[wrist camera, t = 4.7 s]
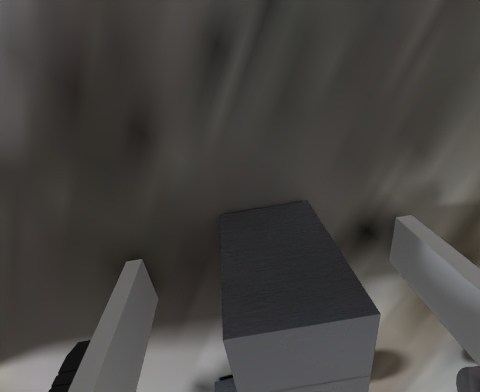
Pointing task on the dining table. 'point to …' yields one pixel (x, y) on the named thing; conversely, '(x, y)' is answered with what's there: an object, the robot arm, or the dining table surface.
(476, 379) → the shaft
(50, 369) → the dining table surface
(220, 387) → the shaft
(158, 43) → the dining table surface
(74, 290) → the dining table surface
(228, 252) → the block
